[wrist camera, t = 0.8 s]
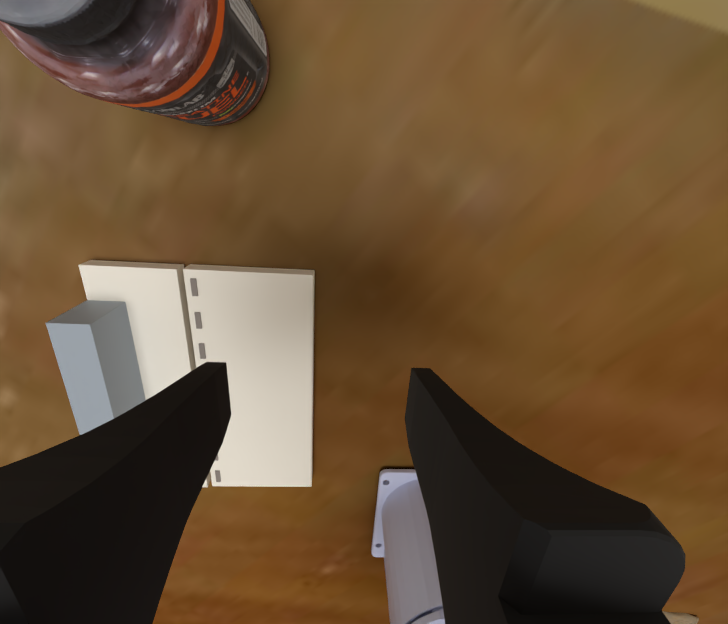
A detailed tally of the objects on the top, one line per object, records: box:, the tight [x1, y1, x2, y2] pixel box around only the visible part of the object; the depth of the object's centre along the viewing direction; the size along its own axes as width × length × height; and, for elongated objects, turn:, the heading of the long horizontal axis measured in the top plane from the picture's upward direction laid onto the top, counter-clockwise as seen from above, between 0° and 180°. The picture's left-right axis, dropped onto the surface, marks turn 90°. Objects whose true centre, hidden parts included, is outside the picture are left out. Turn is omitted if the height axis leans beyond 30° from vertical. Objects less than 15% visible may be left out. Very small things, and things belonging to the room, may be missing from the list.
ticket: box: [183, 264, 315, 487], centre depth 23 cm, size 16×7×1 cm, turn 176°
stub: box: [46, 260, 211, 487], centre depth 21 cm, size 16×5×4 cm, turn 176°
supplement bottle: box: [0, 0, 269, 126], centre depth 11 cm, size 6×6×11 cm
